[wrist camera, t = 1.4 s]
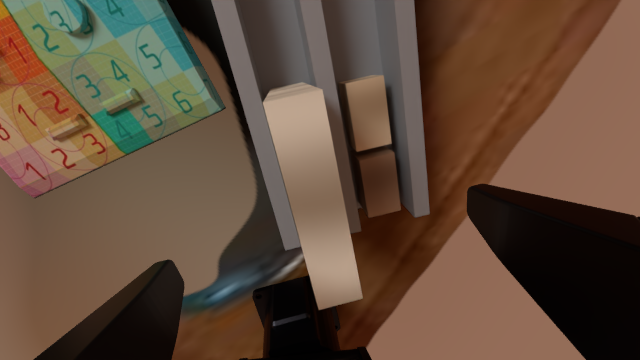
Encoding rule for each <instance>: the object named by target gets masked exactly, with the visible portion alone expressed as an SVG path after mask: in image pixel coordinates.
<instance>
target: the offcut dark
mask: <svg viewBox="0 0 640 360" xmlns="http://www.w3.org/2000/svg"><path fill="white" fill-rule="evenodd" d="M350 154H351V159H352V165H353V171H354V177H355V183H356V188H357V194H358V200H359V203H360V205H361V207H362V208H363V210H364V211H365V213H366V215H367V216H368V218H371V217H375V216H379V215H383V214H387V213H391V212H395V211H399V210H401V206H400V198H399V189H398V180H397V171H396V163H395V154H394V152H393V151H391V150H390V149H388V148H387V147H386V146H384V145H383V146H379V147H375V148H371V149H367V150H362V151H358V152H357V151H356V150H351V151H350Z"/></svg>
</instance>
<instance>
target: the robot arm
mask: <svg viewBox="0 0 640 360" xmlns="http://www.w3.org/2000/svg"><path fill="white" fill-rule="evenodd" d="M467 214H468V216H469V218H470V220H471V221H472V222H473V224H474V225H475V227H476V228H477V229H478V231H479V232H480V234H481V235H482V237H483V238H484V240H486V242H487V244H488V245H489V247H490V248H491V250H492V251H493V252H494V254H495V255H496V256H497V257H498V259H499V260H500V261H501V262H502V264H503V265H504V266H505V267H506V268H507V269H508V271H510V273H511V274H512V275H513V276H514V277H515V279H516V280H517V281H518V282H519V283H520V284H521V285H522V287H523V288H524V289H525V290H526V291H527V292H528V294H529V295H530V296H531V297H532V298H533V299H534V301H535V302H536V303H537V304H538V305H539V306H540V307H541V308H542V310H543V311H544V312H545V313H546V314H547V315H548V316H549V318H550V319H551V320H552V321H553V322H554V324H556V326H557V327H558V328H559V329H560V330H561V332H563V334H564V335H565V336H566V337H567V338H568V340H569V341H570V342H571V343H572V344H573V345H574V347H575V348H576V349H577V350H578V351H579V352H580V353H581V355H582V356H583V357H584V358H585V359H586V360H640V217H636V216H634V215H630V214H625V213H620V212H616V211H611V210H606V209H601V208H597V207H592V206H587V205H582V204H577V203H573V202H568V201H563V200H558V199H553V198H549V197H544V196H540V195H535V194H530V193H525V192H520V191H515V190H511V189H506V188H501V187H497V186H492V185H487V184H478V185H474V186H471V187H469V188H468V191H467ZM183 293H184V281H183V279H182V277H181V275H180V273H179V271H178V269H177V267H176V266H175V264H174V262H173V261H172V260H165V261H160V262H157V263H155V264H153V265H152V266H151V267H150V268H148V269H147V270H146V271H145V272H143V273H142V274H141V275H139V276H138V277H137V278H136V279H134V280H133V281H132V282H131V283H129V284H128V285H127V286H126V287H124V288H123V289H122V290H121V291H119V292H118V293H117V294H115V295H114V296H113V297H112V298H110V299H109V300H108V301H107V302H105V303H104V304H103V305H102V306H101V307H99V308H98V309H97V310H95V311H94V312H93V313H92V314H90V315H89V316H88V317H86V318H85V319H84V320H83V321H82V322H80V323H79V324H78V325H76V326H75V327H74V328H73V329H71V330H70V331H69V332H68V333H66V334H65V335H64V336H63V337H61V338H60V339H59V340H57V341H56V342H55V343H54V344H52V345H51V346H50V347H49V348H47V349H46V350H45V351H44V352H42V353H41V354H40V355H39V356H37V357H36V358H35V359H34V360H171V359H172V355H173V351H174V347H175V343H176V338H177V333H178V327H179V320H180V314H181V307H182V300H183ZM258 294H260V296H257V295H258ZM253 300H254V303H255V306H256V308H257V311H258V314H259V316H260V319H261V322H262V324H263V327H264V343H263V358H258V359H248V358H241V359H239V360H372V359H371V357H370V355H369V353H368V352H367V350H366V348H365V347H357V349H350V350H340V346H339V342H338V337H337V333H336V332H337V331H338V330H339V329H340V323H339V319H338V315H337V311H336V306H333V307H329V308H325V309H321V310H319V309H318V306H317V302H316V298H315V294H314V291H313V287H312V283H311V280H310V276H305V277H301V278H297V279H294V280H290V281H286V282H282V283H278V284H274V285H270V286H266V287H262V288H259V289H256V290H254V292H253Z"/></svg>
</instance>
